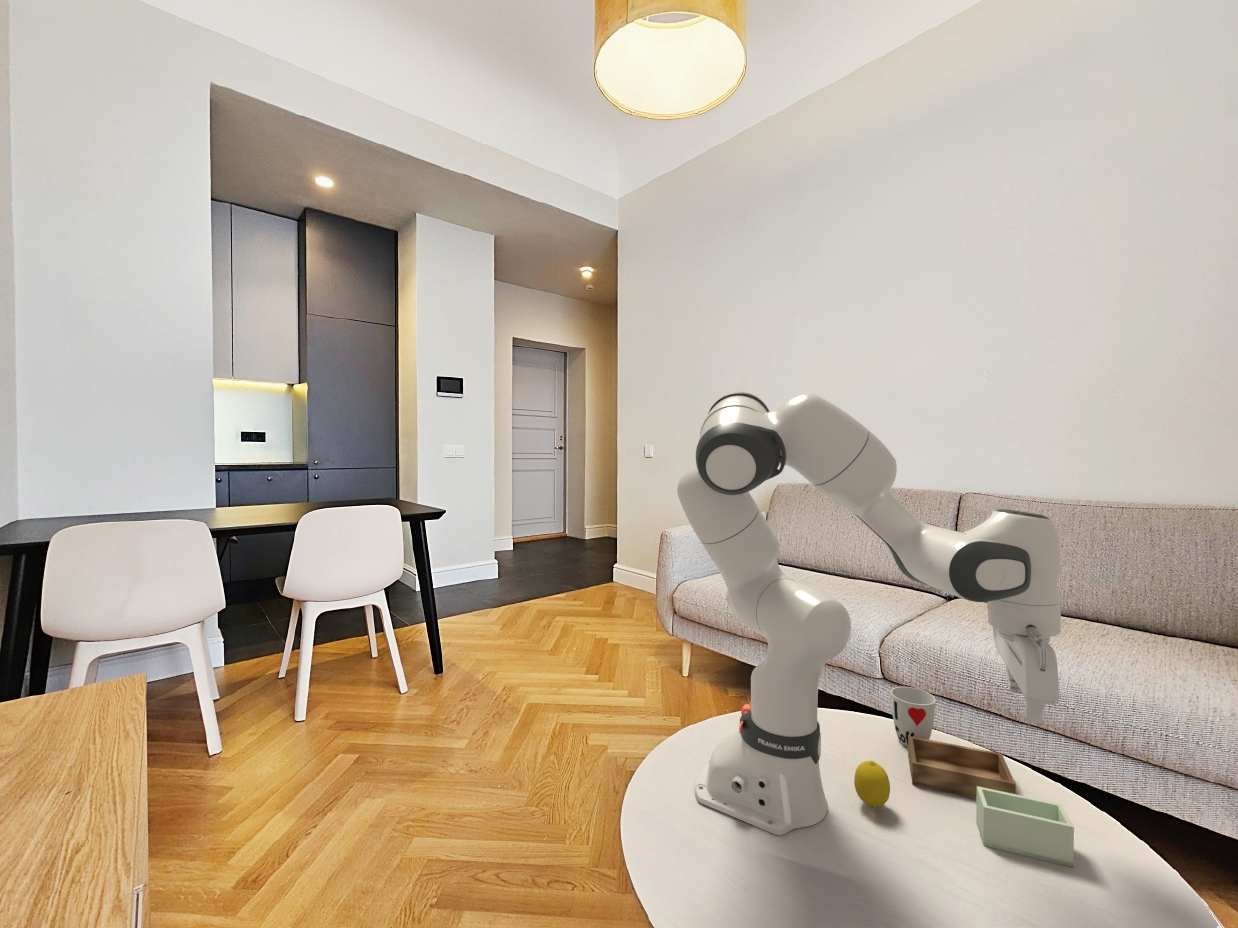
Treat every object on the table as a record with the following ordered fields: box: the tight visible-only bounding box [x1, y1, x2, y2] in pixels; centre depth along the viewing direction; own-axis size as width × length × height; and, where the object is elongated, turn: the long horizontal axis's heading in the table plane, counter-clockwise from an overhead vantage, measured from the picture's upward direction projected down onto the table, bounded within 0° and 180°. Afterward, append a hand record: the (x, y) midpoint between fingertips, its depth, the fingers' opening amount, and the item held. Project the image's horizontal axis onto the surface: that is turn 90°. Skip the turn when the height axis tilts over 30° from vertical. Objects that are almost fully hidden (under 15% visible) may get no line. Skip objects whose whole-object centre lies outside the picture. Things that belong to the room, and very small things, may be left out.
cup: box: [890, 686, 937, 748], centre depth 110 cm, size 8×8×10 cm
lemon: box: [853, 760, 891, 809], centre depth 91 cm, size 6×6×8 cm
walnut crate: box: [907, 736, 1017, 800], centre depth 98 cm, size 15×10×4 cm, turn 65°
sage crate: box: [975, 786, 1075, 868], centre depth 82 cm, size 11×6×6 cm, turn 65°
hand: (1024, 705), depth 81 cm, fingers open, 8 cm apart
